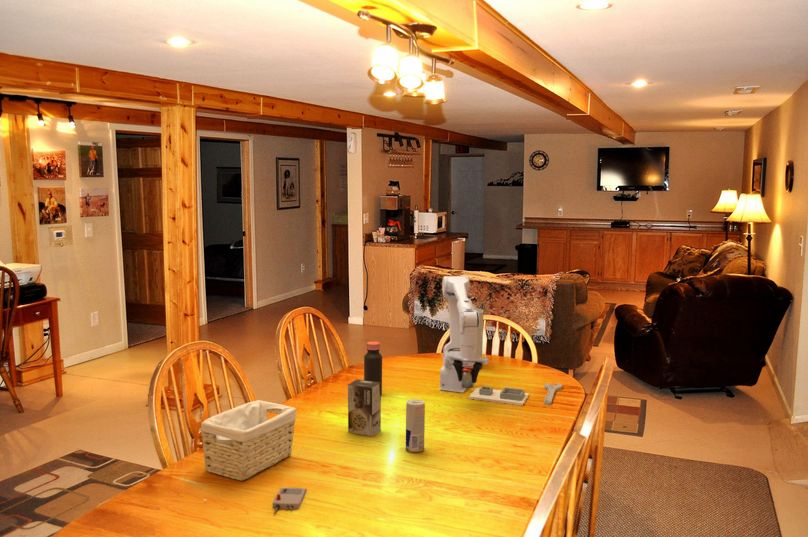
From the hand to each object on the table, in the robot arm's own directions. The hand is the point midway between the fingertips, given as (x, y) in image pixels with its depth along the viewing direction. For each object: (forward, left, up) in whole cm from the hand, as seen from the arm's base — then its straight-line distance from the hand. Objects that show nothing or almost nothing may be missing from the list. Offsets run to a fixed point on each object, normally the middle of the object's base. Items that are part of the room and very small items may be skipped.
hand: (467, 381), depth 248 cm
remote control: (-23, -89, -9) cm, 92 cm away
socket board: (+9, +13, -9) cm, 18 cm away
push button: (0, 0, -2) cm, 2 cm away
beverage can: (-4, -46, -9) cm, 47 cm away
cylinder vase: (-13, +50, -9) cm, 52 cm away
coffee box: (-24, -38, -9) cm, 46 cm away
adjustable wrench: (+26, +24, -9) cm, 37 cm away
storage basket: (-44, -73, -9) cm, 86 cm away
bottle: (-36, -2, -9) cm, 37 cm away
